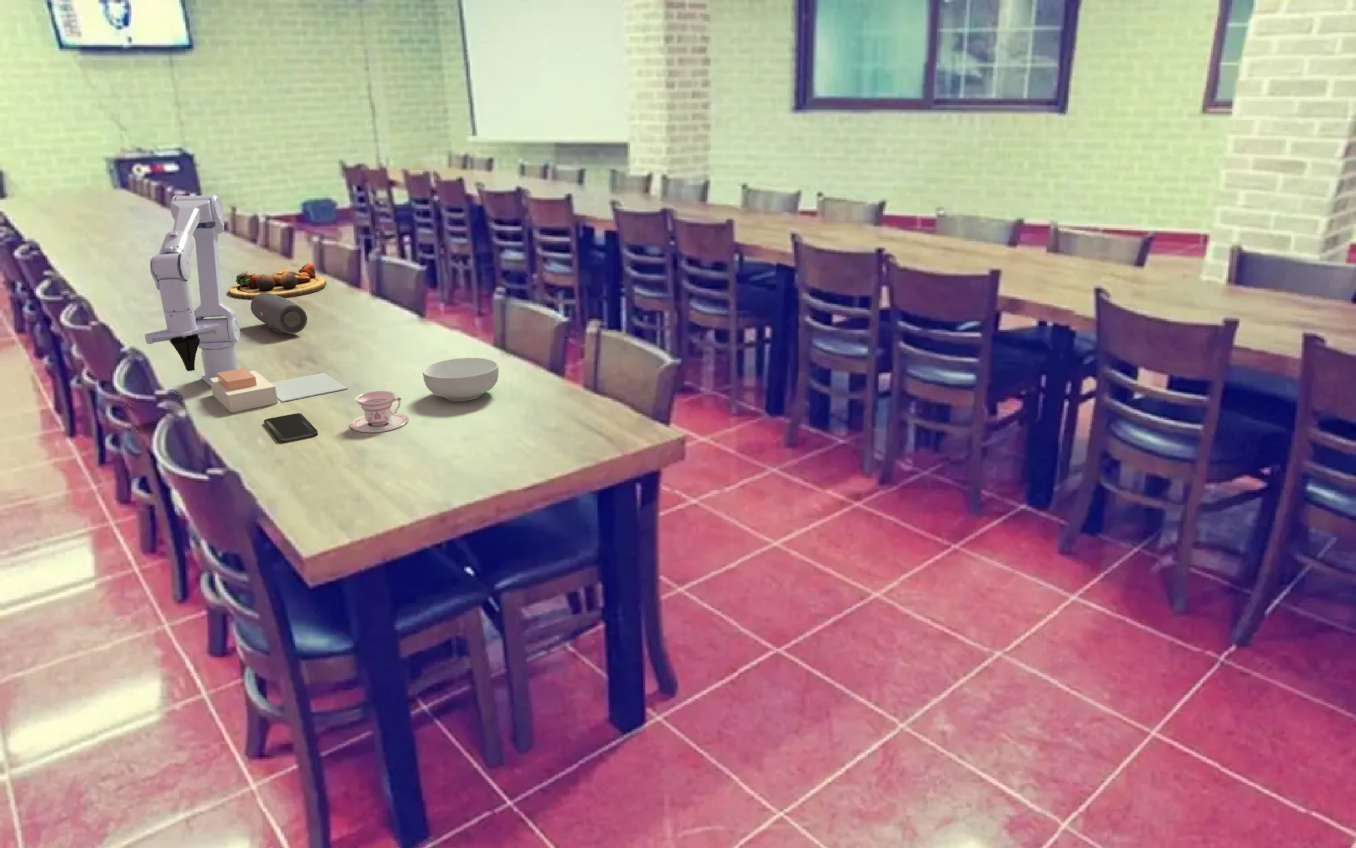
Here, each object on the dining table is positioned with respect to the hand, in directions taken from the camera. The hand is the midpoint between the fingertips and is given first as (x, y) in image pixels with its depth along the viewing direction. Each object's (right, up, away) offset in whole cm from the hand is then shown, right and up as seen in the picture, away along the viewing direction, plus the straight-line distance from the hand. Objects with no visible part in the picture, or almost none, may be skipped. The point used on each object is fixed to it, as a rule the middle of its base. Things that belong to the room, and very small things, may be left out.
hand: (190, 369), depth 205 cm
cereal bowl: (+58, -6, +10) cm, 59 cm away
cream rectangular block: (+8, -6, +9) cm, 13 cm away
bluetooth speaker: (-9, +15, +68) cm, 71 cm away
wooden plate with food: (-33, +35, +122) cm, 131 cm away
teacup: (+44, -12, -6) cm, 46 cm away
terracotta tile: (+7, -3, +7) cm, 10 cm away
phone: (+26, -13, -10) cm, 31 cm away
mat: (+18, -3, +17) cm, 25 cm away
